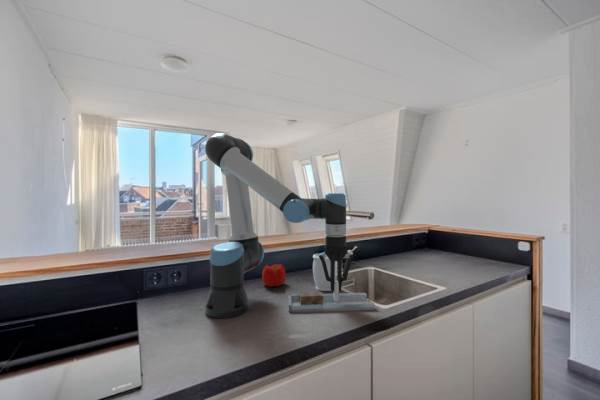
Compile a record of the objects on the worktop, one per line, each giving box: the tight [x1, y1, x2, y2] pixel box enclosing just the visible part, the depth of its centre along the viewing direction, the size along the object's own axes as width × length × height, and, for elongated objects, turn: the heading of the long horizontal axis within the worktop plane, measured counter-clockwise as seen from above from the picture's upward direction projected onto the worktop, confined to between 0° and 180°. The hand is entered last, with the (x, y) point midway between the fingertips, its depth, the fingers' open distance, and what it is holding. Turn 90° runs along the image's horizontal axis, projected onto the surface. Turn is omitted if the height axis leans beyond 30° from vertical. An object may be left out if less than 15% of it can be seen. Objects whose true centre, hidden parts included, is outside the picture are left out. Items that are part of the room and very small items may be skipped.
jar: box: [312, 252, 337, 292], centre depth 120 cm, size 11×10×15 cm
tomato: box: [261, 263, 287, 288], centre depth 127 cm, size 11×12×9 cm
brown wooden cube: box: [310, 291, 324, 304], centre depth 102 cm, size 4×4×4 cm
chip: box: [299, 291, 312, 305], centre depth 101 cm, size 4×4×4 cm
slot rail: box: [287, 292, 376, 313], centre depth 102 cm, size 30×11×3 cm, turn 93°
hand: (336, 299), depth 102 cm, fingers closed
